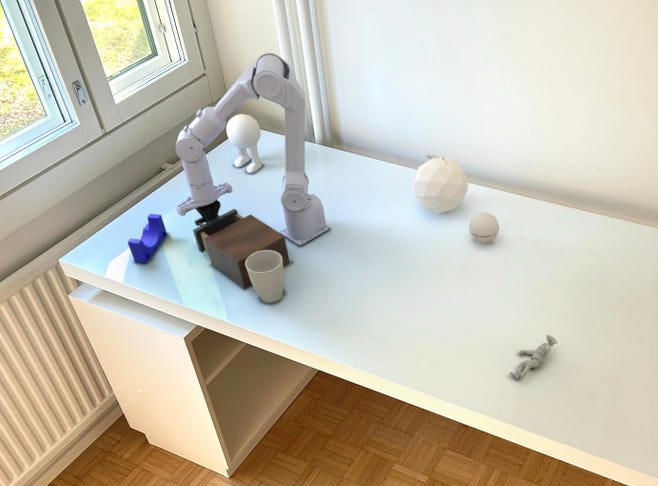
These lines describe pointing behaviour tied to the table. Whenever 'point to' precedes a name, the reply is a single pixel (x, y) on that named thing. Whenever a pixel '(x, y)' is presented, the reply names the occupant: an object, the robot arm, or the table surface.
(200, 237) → the drawer
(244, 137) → the toy character
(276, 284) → the cup
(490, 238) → the grey rounded domed piece
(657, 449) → the table surface
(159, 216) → the cable clip
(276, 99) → the robot arm
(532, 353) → the soldier figure
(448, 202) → the geodesic sphere
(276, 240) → the cabinet
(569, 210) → the table surface
